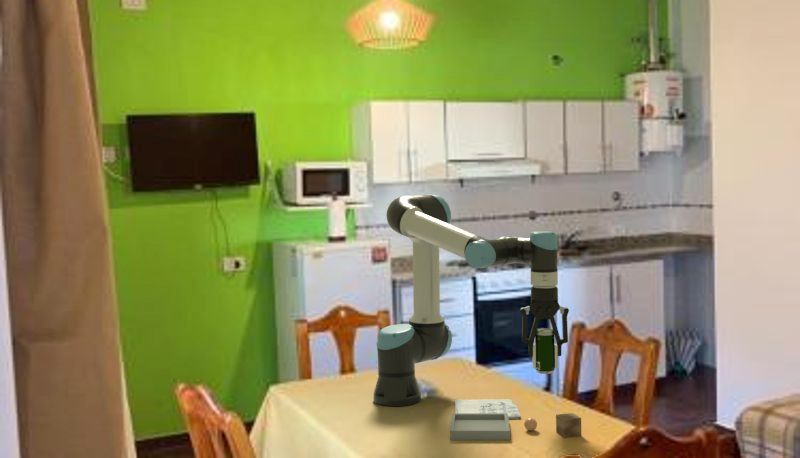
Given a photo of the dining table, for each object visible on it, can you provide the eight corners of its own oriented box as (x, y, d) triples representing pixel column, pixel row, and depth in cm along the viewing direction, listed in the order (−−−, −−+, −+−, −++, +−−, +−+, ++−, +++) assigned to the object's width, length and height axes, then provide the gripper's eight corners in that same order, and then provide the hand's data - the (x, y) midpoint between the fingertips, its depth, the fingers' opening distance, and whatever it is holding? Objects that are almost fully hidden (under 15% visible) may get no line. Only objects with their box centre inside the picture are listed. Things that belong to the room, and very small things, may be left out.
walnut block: (564, 438, 220) (564, 419, 220) (556, 432, 225) (556, 414, 225) (581, 436, 222) (581, 418, 221) (573, 430, 226) (572, 412, 226)
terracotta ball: (524, 432, 226) (524, 420, 226) (524, 428, 229) (523, 416, 229) (537, 432, 225) (537, 420, 225) (536, 428, 229) (536, 416, 229)
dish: (450, 439, 221) (449, 430, 221) (451, 421, 237) (451, 413, 237) (510, 439, 220) (509, 430, 220) (507, 421, 236) (507, 413, 236)
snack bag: (455, 422, 239) (455, 415, 239) (454, 402, 259) (453, 396, 259) (521, 421, 238) (521, 414, 238) (514, 401, 258) (514, 395, 258)
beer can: (544, 375, 230) (544, 332, 229) (531, 371, 235) (531, 329, 234) (558, 372, 233) (558, 330, 232) (545, 368, 238) (545, 327, 237)
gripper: (511, 288, 229) (513, 370, 231) (579, 287, 228) (579, 370, 229) (510, 284, 237) (511, 364, 238) (575, 283, 235) (576, 364, 237)
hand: (545, 367), depth 234 cm, fingers closed on beer can, 5 cm apart
